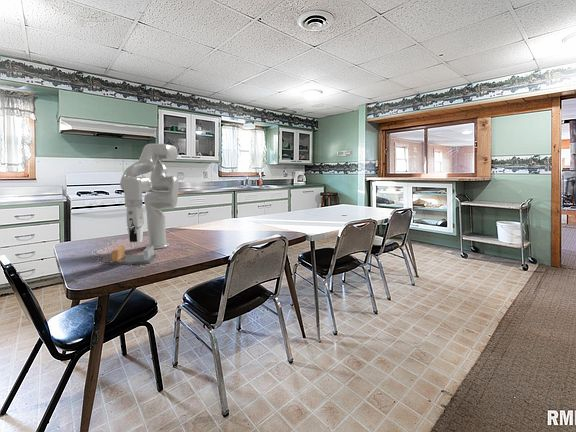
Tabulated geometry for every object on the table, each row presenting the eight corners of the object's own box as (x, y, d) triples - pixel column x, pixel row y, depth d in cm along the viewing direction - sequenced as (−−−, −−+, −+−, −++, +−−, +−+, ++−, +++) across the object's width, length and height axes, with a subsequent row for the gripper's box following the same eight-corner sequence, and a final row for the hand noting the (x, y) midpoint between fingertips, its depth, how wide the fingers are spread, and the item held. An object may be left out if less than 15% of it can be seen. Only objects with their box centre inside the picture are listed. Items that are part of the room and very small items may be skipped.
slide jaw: (112, 261, 145) (111, 251, 144) (120, 255, 155) (119, 246, 154) (116, 261, 145) (116, 251, 144) (124, 255, 155) (124, 246, 154)
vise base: (109, 264, 144) (108, 252, 143) (119, 257, 156) (118, 245, 155) (149, 263, 147) (149, 251, 146) (156, 256, 158) (156, 245, 157)
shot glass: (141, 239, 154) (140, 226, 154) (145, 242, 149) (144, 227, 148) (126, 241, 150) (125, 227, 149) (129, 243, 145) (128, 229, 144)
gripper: (136, 205, 139) (138, 244, 142) (147, 201, 156) (149, 236, 159) (118, 205, 138) (120, 244, 141) (131, 201, 155) (133, 236, 157)
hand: (135, 239), depth 150 cm, fingers closed on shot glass, 5 cm apart
